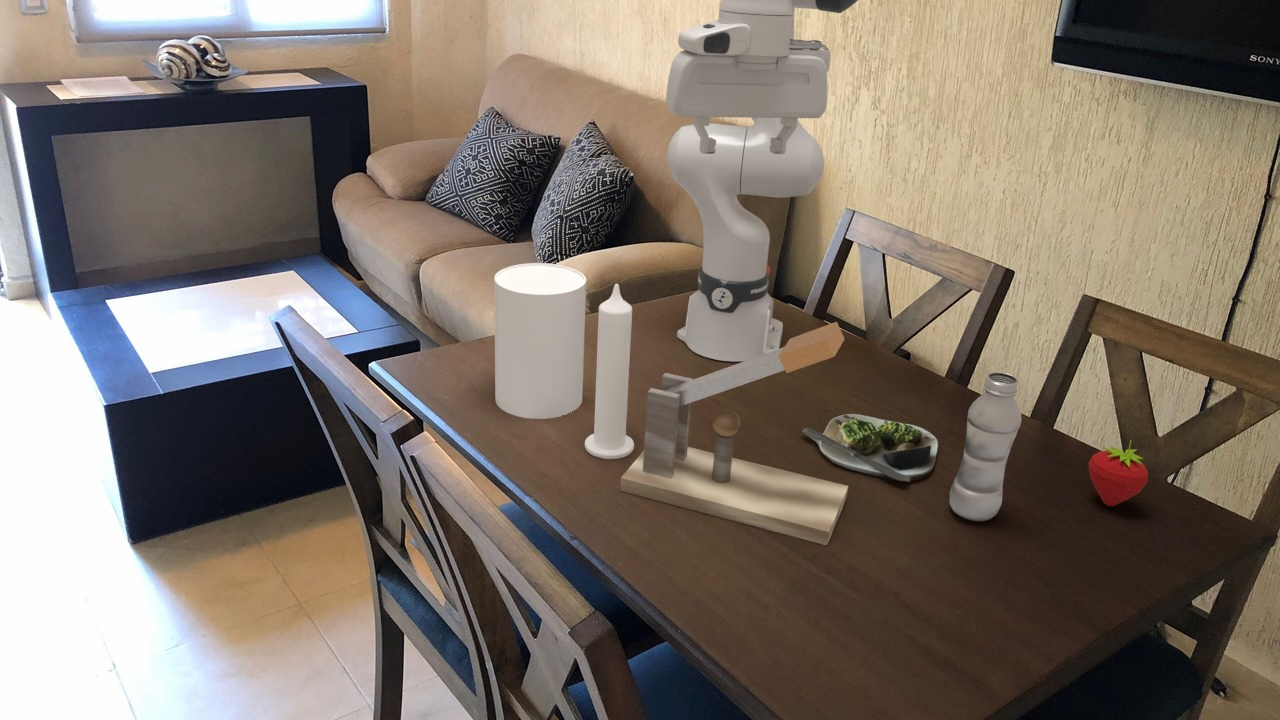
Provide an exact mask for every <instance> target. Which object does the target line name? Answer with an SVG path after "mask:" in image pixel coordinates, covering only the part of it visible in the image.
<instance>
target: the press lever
mask: <svg viewBox="0 0 1280 720" xmlns="http://www.w3.org/2000/svg"><path fill="white" fill-rule="evenodd" d="M845 339H846V338H845V337H844V334H843V332H842V329H841V328H840V326H839V323H838V321H835V322H832V323H829V324H827V325H823V326H821V327H817V328H816V329H812V330H810V331H807V332H805V333H801V334H799V335H795V336H794V337H790V338H789V340H787V343H786V344H785V345H784V346H783V347H780V348H779V349H777V350H775V351H772V352H769V353H766V354H764V355H761V356H758V357H755V358H752V359H750V360H747V361H740V362H739V363H736V364H734V365H730V366H727V367H724V368H722V369H719V370H716V371H713V372H711V373H708V374H705V375H703V376H702V375H701V376H700V377H697V378H693V380H691V381H688V382H685V383H683V384H680V385H677V386H674V387H671V388H669V389H666V390H663V391H666V392H671V393H675V394H680V400H679V407H680V406H682V405H685V404H688V403H691V404H692V403H694V402H697V401H699V400H702V399H705V398H708V397H710V396H711V397H712V396H714V395H717V394H720V393H723V392H725V391H728V390H731V389H734V388H737V387H740V386H743V385H746V384H748V383H752V382H754V381H757V380H760V379H763V378H766V377H769V376H771V375H775V374H778V373H781V372H784V371H785V374H788V373H791V372H794V371H797V370H800V369H802V368H806V367H809V366H811V365H814V364H818V363H820V362H823V361H826V360H830V359H831V358H835V356H836V355H837V353H838V351H839V350H840V348H841V346H842V344H843V343H844V341H845Z"/></svg>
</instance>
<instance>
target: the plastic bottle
mask: <svg viewBox="0 0 1280 720" xmlns="http://www.w3.org/2000/svg"><path fill="white" fill-rule="evenodd" d="M1018 385H1019V383H1018V378H1017V377H1016V376H1015V375H1012V374H1010V373H1006V372H1001V371H1000V372H999V371H994V372H991V373H988V374H987V376H986V381H985V384H984V386H983V389H984V390H983V391H985V392H984V393H982V394H981V395H980V396H978V397H977V399H975V400H974V401H973V402H972V403H971V405H970V407H969V409H968V410H967V411H968V412H967V413H968V414H967V420H966V438H965V443H964V450H963V455H962V456H963V457H962V459H961V462H960V466H959V467H958V471H957V474H956V477H955V479H954V481H953V482H952V485H951V487H950V489H949V505H950V507H951V510H952V511H953V512H954V513H955V515H957V516H959V517H961V518H963V519H965V520H969V521H973V522H985V521H986V522H987V521H989V520H991V519H992V518H993V517H995V516H996V515H997V514H998V512H999V511H1000V508H1001V506H1002V504H1003V494H1004V492H1003V488H1004V487H1003V484H1004V478H1005V470H1006V465H1007V462H1008V457H1009V454H1010V452H1011V448H1012V445H1013V443H1014V441H1015V438H1016V436H1017V434H1018V431H1019V429H1020V427H1021V425H1022V412H1021V410H1020V408H1019V405H1018V404H1017V402H1016V400H1015V398H1014V397H1016V395H1017V391H1018V390H1017V389H1018Z"/></svg>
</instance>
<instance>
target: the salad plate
mask: <svg viewBox="0 0 1280 720" xmlns="http://www.w3.org/2000/svg"><path fill="white" fill-rule="evenodd" d="M802 433H803V434H804V435H805V436H806V437H808V438H810V439H811V440H813V442H815V443H816V444H817V445H818V447H819V450H820V452H821V453H822V455H824V456H825V457H826V458H827V459H829V460H830V462H832V463H834V464H836V465H837V466H840V467H842V468H845V469H847V470H851V471H856V472H859V473H862V474H863V473H864V474H866V475H870V476H875V477H877V476H878V478H882V479H885V478H886V479H885V480H889V479H890V481H894V480H895V481H896V482H903V481H905V482H909V483H911V482H914V481H913V480H915V481H918V480H917V479H919V480H922V479H924V478H926V477H927V476H928V475H929V474H930V473H931V472H932V470H933V469H934V467H935V464H936V458H937V456H938V453H939V447H940V444H939V440H938V438H936V436H935V435H933V434H932V433H931V432H930V431H928V430H926V429H925V428H922V427H920V426H917V425H914V424H909V423H905V422H897V421H891V420H887V419H881V418H877V417H872V416H869V415H868V416H867V415H862V414H857V413H849V414H847V413H846V414H842V415H838V416H836V417H833V418H832V419H830V420H829V422H828V424H827V425H826V427H825V429H824V432H823V433H822V432H820V431H818V430H817V429H815V428H813V427H804V428H803V429H802ZM889 450H890V451H889ZM921 478H922V479H921ZM895 481H894V482H895Z"/></svg>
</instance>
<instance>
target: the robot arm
mask: <svg viewBox="0 0 1280 720" xmlns="http://www.w3.org/2000/svg"><path fill="white" fill-rule="evenodd" d="M858 1H859V0H721V1H720V4H719V9H718V10H719V11H718V18H717V19H715V20H712V21H709V22H706V23H703V24H700V25H699V24H698V25H697V26H694V27H693V26H692V27H689V28H686V29H683V30H681V31H680V32H679V33H678V37H677V38H678V39H677V41H678V42H677V43H678V47H679V48H680V49H682V50H681V51H680V52H678V53H677V54H676V55H675V56H674V58H673V60H672V62H671V66H670V68H669V69H670V70H669V74H668V81H667V85H666V86H667V88H666V95H665V96H666V97H665V104H666V108H667V109H668V111H669V112H670V113H672V114H673V115H675V116H676V117H678V118H679V117H682V118H684V117H685V118H692V124H690V125H689V124H688V125H683V126H681V127H680V128H679V129H678V130H677V131H676V132H675V133H674V134H673V135H672V137H671V139H670V141H669V143H668V146H667V151H666V163H667V168H668V171H669V173H670V175H671V177H672V178H673V180H674V181H675V182H676V183H677V184H678V185H679V186H681V187H682V189H684V191H686V192H687V194H688V195H689V196H690V197H691V199H692V200H693V203H694V204H695V206H696V207H697V210H698V212H699V214H700V215H699V216H700V218H701V221H702V229H703V230H702V231H703V234H702V235H703V251H702V252H703V253H702V254H703V255H702V264H701V265H702V266H700V268H699V273H698V275H697V282H698V283H697V288H698V290H697V291H695V292H694V293H692V294H691V295H690V296H689V299H688V305H687V313H686V320H685V326H683V327H682V328H680V329H678V330H677V332H676V337H677V338H678V339H680V340H681V341H683V342H684V343H685V345H687V347H688V348H689V349H690V350H691V351H692V352H693V353H695V354H697V355H700V356H702V357H704V358H708V359H713V360H715V361H716V360H717V361H722V362H744V361H747V360H750V359H752V358H755V357H758V356H761V355H764V354H766V353H769V352H772V351H775V350H777V349H780V348H781V344H782V343H781V341H782V335H783V331H784V324H783V323H784V322H783V321H780V320H778V319H776V318H773V314H774V299H773V298H772V297H771V295H770V294H769V293H768V290H769V278H768V277H769V276H770V271H771V268H770V266H769V265H768V258H769V249H770V239H771V237H770V235H771V234H770V231H769V228H768V227H767V225H766V224H765V222H764V221H763V220H762V219H761V218H760V217H758V216H757V215H755V214H754V213H753V212H751V211H749V210H747V209H746V208H744V207H743V206H742V204H741V203H740V201H739V200H738V197H737V196H738V195H750V196H761V197H771V198H780V199H781V198H792V197H793V198H795V197H800V196H807V195H809V194H810V193H812V191H813V190H814V189H815V188H816V187H817V185H818V184H819V183H820V182H821V181H820V180H821V179H822V176H823V174H824V173H823V172H824V168H825V158H824V153H823V150H822V147H821V145H820V144H819V142H818V141H817V140H816V138H815V137H814V136H813V135H811V133H809V132H808V131H807V130H806V129H805V128H804V127H803V125H802V124H801V123H800V121H799V119H820V118H822V116H823V114H824V113H825V112H826V110H827V105H828V72H829V70H830V65H831V51H830V50H829V48H828V47H827V45H825V44H823V43H822V41H820V40H815V39H811V40H802V39H795V9H809V10H818V11H823V12H829V13H833V14H834V13H835V14H843V12H845V11H846V10H848V9H849V8H850V7H852V6H853V5H855V4H856V3H857V2H858ZM711 118H751V119H752V120H753V122H754V124H753V125H749V126H742V125H734V124H733V125H732V124H723V123H722V124H721V123H711V122H710V119H711Z"/></svg>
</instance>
